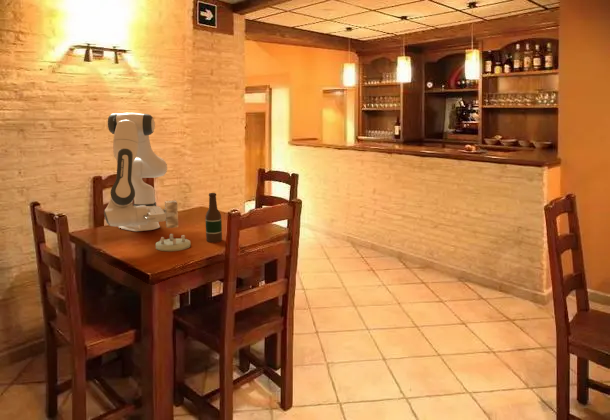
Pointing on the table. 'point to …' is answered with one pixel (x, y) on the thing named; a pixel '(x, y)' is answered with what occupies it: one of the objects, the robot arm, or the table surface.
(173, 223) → the birch block
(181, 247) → the peg plinth
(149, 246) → the table surface
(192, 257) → the table surface
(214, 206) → the beer bottle
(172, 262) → the table surface
